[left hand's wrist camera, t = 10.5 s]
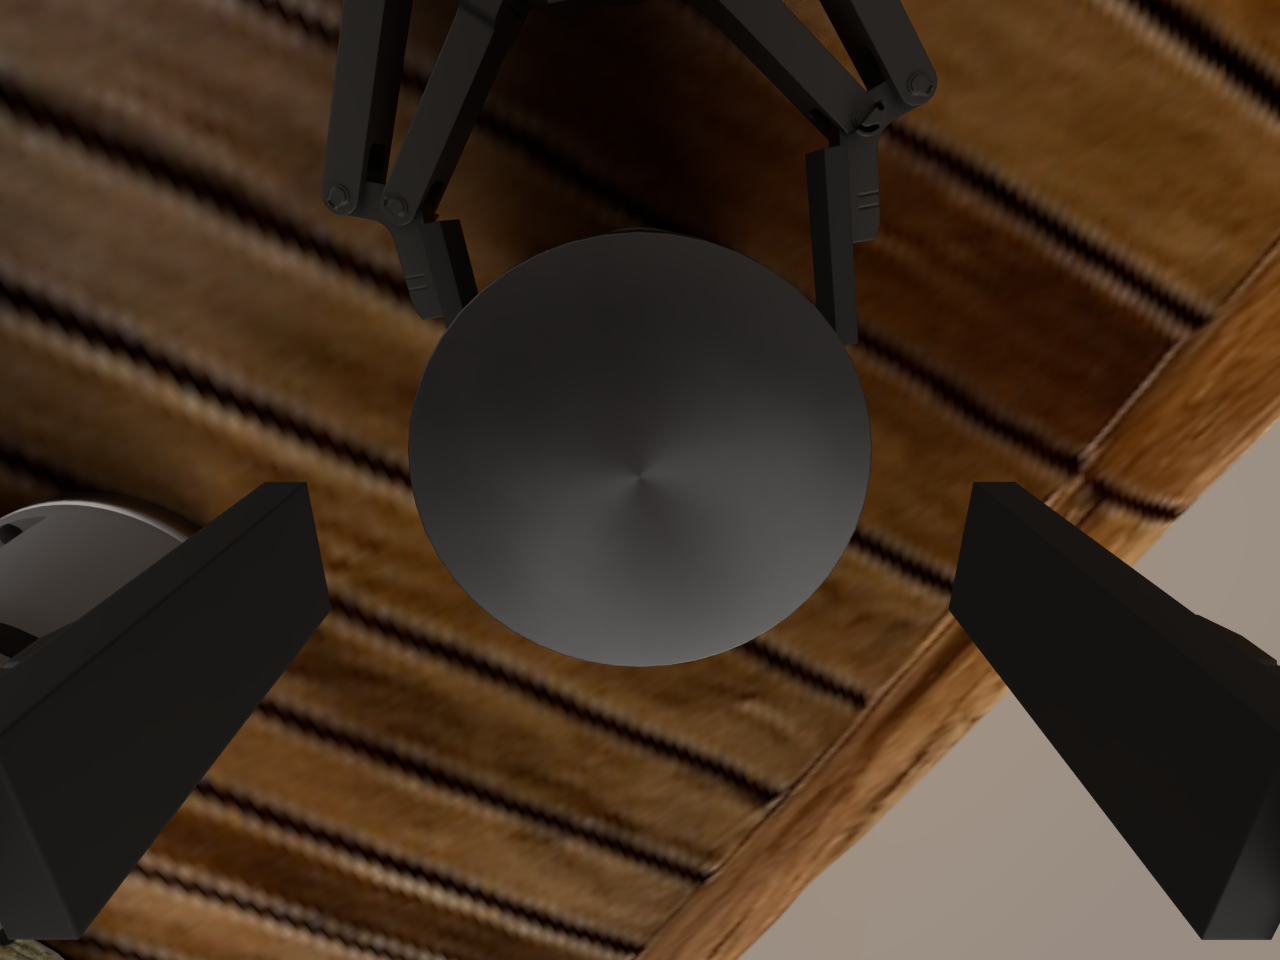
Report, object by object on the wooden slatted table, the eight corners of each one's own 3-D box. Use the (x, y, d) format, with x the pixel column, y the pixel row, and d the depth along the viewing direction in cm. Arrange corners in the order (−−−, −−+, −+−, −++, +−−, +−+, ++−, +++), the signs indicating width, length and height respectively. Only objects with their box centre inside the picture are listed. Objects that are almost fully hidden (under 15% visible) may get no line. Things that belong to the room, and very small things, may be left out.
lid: (708, 686, 21) (713, 726, 19) (365, 524, 19) (339, 553, 17) (939, 375, 17) (970, 392, 16) (546, 132, 15) (535, 123, 13)
